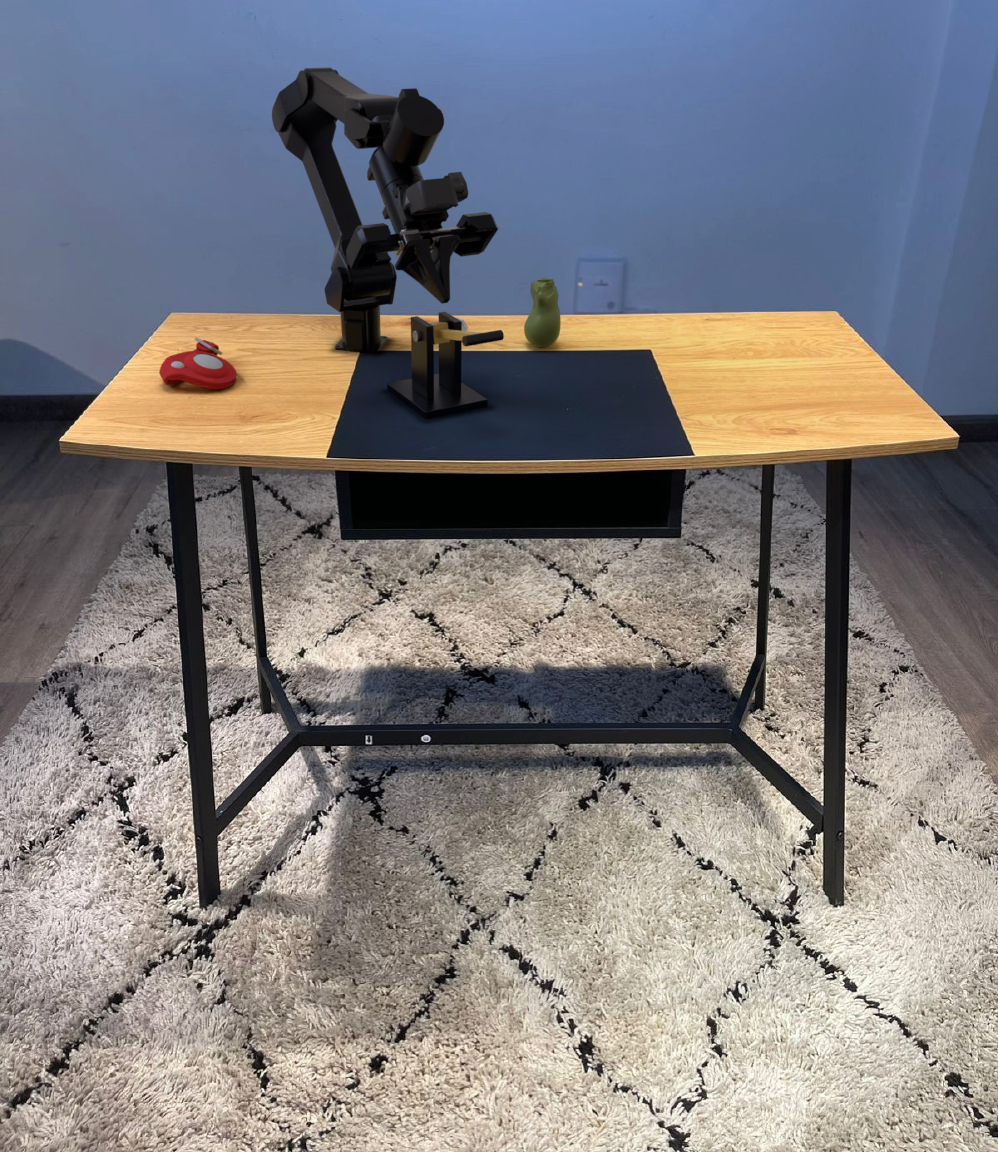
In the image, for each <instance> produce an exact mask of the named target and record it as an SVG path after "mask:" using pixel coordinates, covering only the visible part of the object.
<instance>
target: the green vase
mask: <svg viewBox="0 0 998 1152" xmlns="http://www.w3.org/2000/svg"><path fill="white" fill-rule="evenodd" d="M555 284H556V283H555V280H554V279H553V278H551V279H550V278H547V277H542V278H539V279H537V280H533V281H531V282H530V290H529V291H530V295H531V299H532V302H533V305H532V308H531V310H530V312H529V314H528V316H527V318H526V320H525V322H524V325H523V333H524V336H525V338H526V340H527V341H528V343H529V344H531V345H532V346H533V347H537V348H547V347H550V346H552V345H553V344H555V343H556V342H557V340H558V338H559V337H560V333H561V325H562V323H561V321H562V320H561V311H560V307H559V298H560V297H559V295H560V294H559V291H558V288H557V286H555Z"/></svg>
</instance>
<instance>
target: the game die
mask: <svg viewBox="0 0 998 1152" xmlns="http://www.w3.org/2000/svg"><path fill="white" fill-rule="evenodd" d="M456 318H457V319H459V320H460V321H462V331H469V326H468V325H467V323H466V321H465V320H464V319H462V318H460V317H456Z"/></svg>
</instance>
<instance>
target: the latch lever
mask: <svg viewBox="0 0 998 1152" xmlns="http://www.w3.org/2000/svg"><path fill="white" fill-rule="evenodd" d="M428 323H429V324H431V325H433V331H434V345H439V344H440V343H446V342H450V340H458V341H462V346H464V347H471V346H476V345H482V344H488V343H493V342H498V341H504V338H505V334H504V332H503V330H502V329H498V330H491V331H486V332H477V331H469V330H467V331H460V330H450V329H448V323H446V322H439V321H434V322H433V321H432V322H428Z"/></svg>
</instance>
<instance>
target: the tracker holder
mask: <svg viewBox="0 0 998 1152" xmlns="http://www.w3.org/2000/svg"><path fill="white" fill-rule="evenodd" d="M194 341H196V342H197V343H196V344H195V349H193V350H188V351H187V350H186V351H183V352H178V353H175V354H172V355H169V356H167V357H165V359H164V360H163V362H162V363H161V365H160V368H159V371H158V372H159V376H160V378H161V379H162V382H163V383H164V385H166V386H172V385H175V384H177V383H180V382H181V381H183V382H185V383H187V384H191V385H194V386H198V387H202V388H205V389H212V390H221V389H227V388H230V387H231V386H233V385H234V384H235V381H236V378H237V370H236V369H235V367H234V365H233V364H232V363H230V362H229V361H228V360H226V359H225V358H223V357H221V356H222V355H223V352H222V351H221V350H220V347H219V345H218V344H215V343H214V342H213V341H209V340H206V339H201V338H200V337H199V338H198V337H196V336H195V337H194ZM219 355H220V356H219Z"/></svg>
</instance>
